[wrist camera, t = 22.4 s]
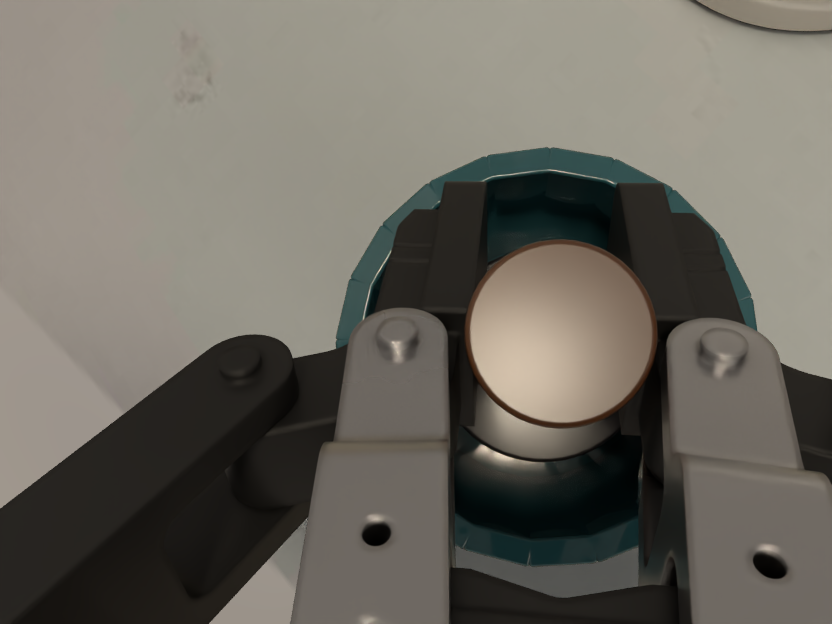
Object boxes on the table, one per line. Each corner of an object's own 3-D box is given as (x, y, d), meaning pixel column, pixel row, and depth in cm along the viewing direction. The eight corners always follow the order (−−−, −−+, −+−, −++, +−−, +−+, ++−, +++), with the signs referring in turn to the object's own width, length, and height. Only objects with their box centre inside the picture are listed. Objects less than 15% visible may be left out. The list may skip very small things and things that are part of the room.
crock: (520, 541, 21) (524, 657, 12) (358, 352, 23) (258, 334, 14) (712, 374, 21) (857, 370, 12) (538, 192, 22) (554, 66, 13)
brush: (430, 411, 19) (321, 450, 8) (481, 258, 19) (439, 104, 9) (588, 467, 18) (694, 588, 8) (639, 307, 19) (812, 205, 8)
